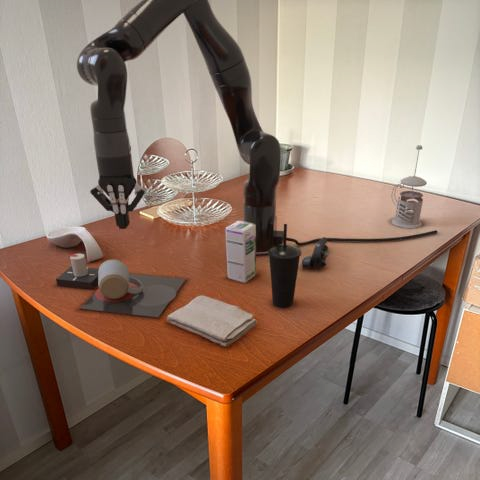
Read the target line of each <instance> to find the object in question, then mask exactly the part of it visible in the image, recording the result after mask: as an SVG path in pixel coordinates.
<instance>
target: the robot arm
mask: <svg viewBox="0 0 480 480" xmlns="http://www.w3.org/2000/svg"><path fill="white" fill-rule="evenodd" d="M181 15H183V16H184V18H185V20H186V21H187V23H188V26H189V28H190V30H191V32H192V35H193V37H194V38H195V42H196V44H197V46H198V49H199V51H200V54H201V56H202V58H203V60H204V63H205V65H206V69H207V71H208V74H209V76H210V79H211V82H212V84H213V86H214V89H215V90H216V93H217V95H218V98H219V101H220V103H221V105H222V108H223V110H224V112H225V114H226V116H227V118H228V120H229V123H230V127H231V130H232V133H233V137H234V141H235V144H236V147H237V150H238V153H239V156H240V158H241V159H242V160H243V162H244V163H246V164H247V165H249V175H248V179H247V180H245V181H244V182H243V221H244V222H250V223H253V224H255V225H256V256H264V255H268V249H269V248H271V247H273V246H276V245H280V244H283V238H284V230H278V216H277V188H278V185H279V183H280V179H281V165H282V148H281V144H280V141H279V140H278V138H277V137H276V136H274V135H273V134H270V133H268V132H264V130H263V128H262V126H261V124H260V122H259V120H258V117H257V116H256V112H255V108H254V103H253V83H252V77H251V72H250V70H249V67H248V64H247V61H246V59H245V56H244V55H245V54H244V53H243V51H242V48H241V47H240V45H239V43H238V42H237V41H236V40H235V38H234V37H233V36H232V35H231V34H230V33H229V31H227V29H226V28H225V27H224V26H223V25H222V24H221V22H220V21H219V20H218V18H217V17H216V15H215V13H214V11H213V9H212V7H211V4H210V1H209V0H141V1H139V2H138V3H137V4H136V5H134V6H133V7H132V8H131V9H130V10H128V11H127V13H126V14H125V15H123V16H122V18H120V19H119V21H117V23H116V24H115V25H114V26H113V27H112V28H111V29H109V30H107V31H106V32H104V33H102V34H101V35H99V36H97V37H96V38H95V39H93V40H92V41H90V42H89V43H88V44H87V45H85V46H84V48H82V50H81V51H80V53H79V54H78V57H77V59H76V70H77V73H78V75H79V77H80V79H82V81H84V83H86V84H88V85H91V86H97V99H95V100H93V101H92V102H91V104H90V107H89V110H90V111H89V112H90V119H91V124H92V130H93V146H94V151H95V159H96V165H97V171H98V180H97V183H98V184H97V185H95V186H94V187H92V188H91V189H90V191H89V193H90V194H91V195H92V197H93V198H94V199H95V200H97V202H98V203H99V204H100V205H101V206H102V207H103V208H104V209H105V211H107V212H112V213H113V214H114V218H115V225H116V226H117V227H118V229H119V230H126V229H127V228H128V227H129V226H130V214H129V213H130V212H131V213H132V212H133V211H134V210H135V209H136V208H137V206H138V204H140V202H141V200H142V198H143V197H144V195H146V192H147V188H146V187H144V186H143V187H142V186H141V185H140V184H138V181H137V179H136V177H135V175H134V174H135V173H134V166H133V158H132V146H131V141H130V136H129V132H128V125H127V119H126V110H125V107H126V101H127V89H128V80H129V79H128V77H129V76H128V68H127V64H126V62H129V61H134V60H136V59H138V58H139V57H141V56H142V55H143V54H144V52H145V51H146V50H147V49H148V48H149V47H150V46H151V45H152V44H153V43H155V41H156V40H157V39H158V37H160V36H161V35H162V34H163V33H164V31H166V29H168V28H169V27H170V25H172V24H173V23H174V22H175V20H177V19H179V17H180V16H181ZM133 191H134V193H133ZM132 193H133V194H134V195H135V197H134V198H133V200H132V201H131V203H130V201H129V200H130V196H131V194H132ZM437 233H438V230H436V229H435V230H431V231H427V232H422V233H416V234H412V235H411V234H410V235H406V236H405V235H404V236H397V237H386V238H385V237H384V238H383V237H382V238H338V237H326V238H327V239H328V240H327V242H353V243H354V242H357V243H360V242H361V243H365V242H367V243H368V242H369V243H372V242H374V243H375V242H392V241H393V242H394V241H403V240H408V239H414V238H419V237H420V238H421V237H425V236H429V235H433V234H437ZM321 238H322V237H321ZM321 238H313V239H311V240H308V241H304V242H299V240H297V239H295V238H291V237H287V239H286V242H292V243H294V244H295V246H298V247H299V246H306V245H311V244H313V243H317V242H318V241H319V240H320V239H321Z"/></svg>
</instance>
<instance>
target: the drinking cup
mask: <svg viewBox="0 0 480 480" xmlns="http://www.w3.org/2000/svg"><path fill="white" fill-rule="evenodd" d="M283 231H284V238H283V244H280V245H276V246H273V247H271V248H269V249H268V254H267V255H268V259H269V261H268V262H269V272H270V284H271V295H272V298H271V299H272V305H273V306H274V307H276V308H279V309H288V308H290V307H291V308H292V306H293V305H294V299H295V291H296V285H297V278H298V272H299V271H298V270H299V265H300V260H301V259H300V258H301V256H302V250H301V248H299V246H296V245H292V244H288V243H287V241H286V239H287V238H288V237H287V236H288V235H287V234H288V224H287V223H284V224H283Z"/></svg>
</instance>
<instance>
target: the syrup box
mask: <svg viewBox="0 0 480 480" xmlns="http://www.w3.org/2000/svg"><path fill="white" fill-rule="evenodd" d="M224 230H225V249H226V250H225V251H226V269H227V279H230V280H233V281H236V282H240V283H244V284H246V283H247V282H248V281H249V280H251V279H252V278H254V277H255V276H256V275H257V255H256V225H255V224H253V223H250V222H244V220H242V221H241V220H236V221H235V222H234V223H232V224H230V225H227V226H226V227H225V229H224Z"/></svg>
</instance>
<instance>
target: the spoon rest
mask: <svg viewBox="0 0 480 480" xmlns="http://www.w3.org/2000/svg"><path fill="white" fill-rule="evenodd" d="M45 237H46V239H47V240H48V241H49V242H50V243H52V244H54V245H56V246H58V247H60V248H65V249H67V248H72V247H77V246H78V245H79V244H80V243H81V242H82V243H83V244H84V248H85V252H86V258H87V262H89V263H90V262H93V261H96V260H99V259H102V258H103V257H104V254H103V252H102V249H101V247H100V245H99V244H98V242H97V241H96V239H95V237H93V235H92V234H91V233H90V232H89V231H88V230H87V228H86V227H84V226H78V225H74V226H73V225H72V226H70V225H69V226H63V227H61V228H57V229H53V230H51V231H49V232H47V234H46V235H45Z"/></svg>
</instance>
